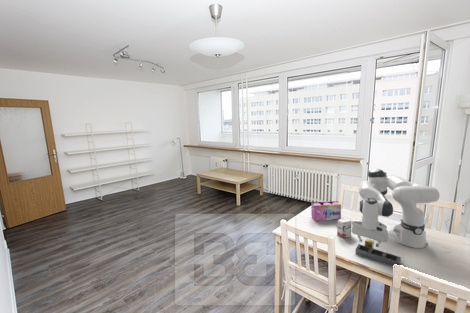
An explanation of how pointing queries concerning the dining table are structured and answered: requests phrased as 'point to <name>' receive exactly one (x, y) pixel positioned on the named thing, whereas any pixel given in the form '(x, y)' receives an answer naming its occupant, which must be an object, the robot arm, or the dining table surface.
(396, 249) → the dining table surface
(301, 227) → the dining table surface
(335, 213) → the gum box
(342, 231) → the ink box
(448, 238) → the dining table surface
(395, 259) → the grey compartment tray
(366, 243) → the brushed brass bar
